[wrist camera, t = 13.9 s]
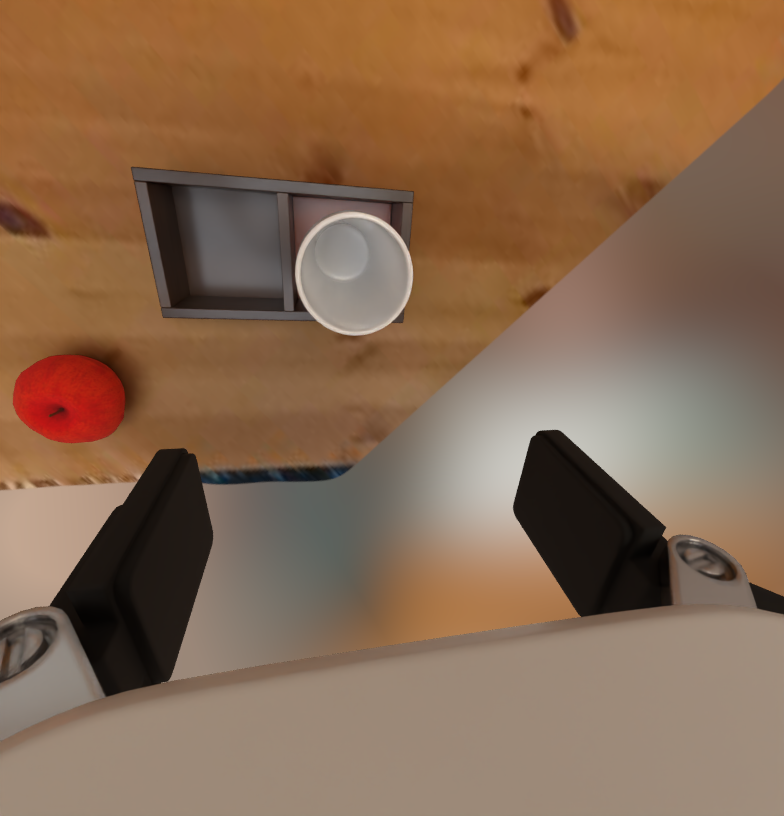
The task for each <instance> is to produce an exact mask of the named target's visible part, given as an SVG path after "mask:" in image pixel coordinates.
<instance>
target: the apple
mask: <svg viewBox="0 0 784 816" xmlns="http://www.w3.org/2000/svg"><path fill="white" fill-rule="evenodd" d="M13 405H14V408H15V411H16V413H17V415H18V416H19V418H20V419H21V420H22V421H23V422H24V423H25V424H26V425H27V426H28V427H29V428H30V429H32V430H34V431H36V432H37V433H39V434H41V435H43V436H44V437H46V438H48V439H50V440H54V441H58V442H64V443H81V442H92V441H96V440H99V439H102V438H105V437H107V436H109V435H110V434H112V433H113V432H114V431H115V430H116V429H117V427H118V426H119V424H120V423H121V421H122V420H123V418H124V410H125V392H124V387H123V385H122V382H121V380H120V379H119V378H118V377H117V375H116V374H115V373H114V371H113V370H111V369H110V368H109V367H108V366H107V365H105V364H103V363H102V362H100V361H98V360H95V359H92V358H89V357H86V356H83V355H56V356H51V357H47V358H45V359H42V360H40V361H38V362H36V363H35V364H33V365H32V366H30V367H29V368H27V369H26V370H24V371H23V372H22V373H21V374H20V375H19V377H18V378H17V380H16V383H15V388H14V393H13Z"/></svg>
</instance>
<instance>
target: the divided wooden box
mask: <svg viewBox="0 0 784 816" xmlns="http://www.w3.org/2000/svg"><path fill="white" fill-rule="evenodd" d="M131 170H132V175H133V179H134V180H135V181H134V184H135V188H136V193H137V198H138V203H139V207H140V212H141V217H142V221H143V226H144V231H145V236H146V240H147V245H148V250H149V254H150V259H151V264H152V269H153V273H154V278H155V283H156V287H157V292H158V297H159V302H160V306H161V307H162V308H161V311H162V316H163V318H198V319H243V320H289V321H317V320H315V319H314V318H313V316H312V315H311V314H310V313H309V312H308V311H307V309H306V308H305V306H304V304H303V302H302V300H301V298H300V296H299V293H298V290H297V286H296V280H295V264H296V256H297V252H298V248H299V246H300V243H301V241H302V239H303V237H304V235H305V234H306V232H307V231H308V230H309V228H310V227H311V226H312V225H313V224H314V223H315V222H316V221H318V220H319V219H320V218H322V217H324V216H325V215H328V214H330V213H333V212H336V211H341V210H358V211H363V212H366V213H369V214H372V215H374V216H376V217H378V218H380V219H382V220H383V221H385V222H386V223H388V224H389V225H390V226H391V227H392V228H393V229H395V230H396V232H397V233H398V234H399V235H400V237H401V238H402V239H403V241H404V243H405V244H406V246H407V249H408V251H409V247H410V235H411V222H412V210H413V197H414V192H413V191H403V190H392V189H381V188H369V187H358V186H346V185H335V184H323V183H312V182H301V181H289V180H278V179H266V178H255V177H243V176H232V175H221V174H209V173H198V172H186V171H175V170H164V169H152V168H141V167H131ZM404 309H405V307H404ZM404 309H403V310H402V312H401V313H400V314H399V315H398V317H397V318H396V319H395V320H394V321H392V322H391V323H403V320H404Z"/></svg>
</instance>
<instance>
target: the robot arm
mask: <svg viewBox="0 0 784 816" xmlns="http://www.w3.org/2000/svg"><path fill="white" fill-rule="evenodd" d="M513 510H514V514H515V516H516V518H517V520H518V521H519V523H520V524H521V526H522V528H523V529H524V531H525V532H526V534H527V535H528V537H529V538H530V540H531V541H532V543H533V545H534V546H535V547H536V549H537V551H538V552H539V554H540V555H541V557H542V558H543V560H544V562H545V563H546V565H547V566H548V568H549V569H550V571H551V572H552V574H553V575H554V577H555V578H556V580H557V582H558V583H559V585H560V586H561V588H562V590H563V591H564V593H565V594H566V596H567V597H568V599H569V600H570V602H571V603H572V605H573V607H574V608H575V610H576V611H577V613H578V614H579V615H580V616H581V617H579V618H572V619H565V620H558V621H551V622H545V623H537V624H530V625H523V626H516V627H509V628H503V629H496V630H489V631H483V632H476V633H469V634H463V635H456V636H449V637H443V638H436V639H430V640H423V641H416V642H410V643H403V644H397V645H390V646H383V647H378V648H371V649H364V650H357V651H352V652H345V653H338V654H332V655H326V656H319V657H313V658H306V659H300V660H294V661H287V662H281V663H274V664H269V665H262V666H256V667H250V668H245V669H239V670H233V671H227V672H222V673H215V674H210V675H204V676H198V677H192V678H187V679H181V680H175V681H170V682H167V681H168V680H169V679H170V677H171V675H172V673H173V670H174V666H175V663H176V660H177V657H178V654H179V650H180V647H181V644H182V641H183V637H184V634H185V631H186V628H187V625H188V621H189V618H190V615H191V612H192V608H193V605H194V602H195V598H196V595H197V592H198V589H199V585H200V582H201V579H202V576H203V572H204V569H205V566H206V563H207V560H208V556H209V553H210V550H211V547H212V542H213V530H212V525H211V521H210V517H209V513H208V508H207V503H206V499H205V495H204V490H203V486H202V481H201V477H200V472H199V468H198V463H197V459H196V456H195V454H188V452H187V450H186V449H185V448H181V449H161V450H159V451H158V452H157V453H156V454H155V456H154V457H153V459H152V461H151V462H150V464H149V465H148V467H147V468H146V470H145V471H144V473H143V474H142V476H141V477H140V479H139V480H138V482H137V484H136V485H135V487H134V488H133V490H132V491H131V493H130V494H129V496H128V497H127V499H126V501H125V502H124V503H123V505H120V506H118V507H116V509H115V510H114V511H113V512H112V513H111V515H110V516H109V518H108V519H107V521H106V522H105V524H104V525H103V527H102V528H101V530H100V531H99V533H98V534H97V536H96V537H95V539H94V540H93V542H92V543H91V545H90V546H89V548H88V549H87V550H86V552H85V553H84V555H83V557H82V558H81V559H80V561H79V562H78V564H77V565H76V567H75V569H74V570H73V571H72V573H71V575H70V576H69V578H68V579H67V581H66V582H65V583H64V585H63V586H62V588H61V589H60V591H59V592H58V594H57V595H56V597H55V598H54V600H53V601H52V603H51V604H50V606H48V607H35V608H31V609H28V610H24V611H20V612H18V613H16V614H14V615H11V616H9V617H7V618H5V619H2V620H1V621H0V816H784V597H783V596H781V595H778V594H776V593H774V592H771V591H769V590H766V589H764V588H761V587H759V586H757V585H754V584H752V583H749V582H748V579H747V575H746V573H745V572H744V569H743V568H742V566H741V565H740V564H739V563H738V562H737V560H736V559H735V558H734V557H732V556H731V555H730V554H729V553H727V552H726V551H725V550H723V549H721V548H720V547H718V546H716V545H715V544H713V543H711V542H708V541H706V540H704V539H701V538H698V537H693V536H690V535H676V536H673V537H671V538H670V539H669V540H668V541H667V540H666V539H665V538H664V537H663V536H662V534H663V532H664V530H665V529H666V527H665V526H664V525H663V524H662V523H661V522H660V521H659V520H658V519H656V518H655V517H654V516H653V515H652V514H651V513H650V512H649V511H648V510H647V509H645V508H644V507H643V506H642V505H641V504H640V503H639V502H638V501H637V500H636V499H634V498H633V497H632V496H631V495H630V494H629V493H628V492H627V491H626V490H625V489H624V488H623V487H621V486H620V485H619V484H618V483H617V482H616V481H615V480H614V479H613V478H612V477H610V476H609V475H608V474H607V473H606V472H605V471H604V470H603V469H601V467H600V466H598V465H597V464H596V463H595V462H594V461H593V460H592V459H591V458H589V456H587V455H586V454H585V453H584V452H583V451H582V450H581V449H580V448H579V447H578V446H576V445H575V444H574V443H573V442H572V441H571V440H570V439H569V438H568V437H567V436H566V435H564V434H563V433H562V432H561V431H559V430H546V431H545V430H544V431H539V432H537V433H536V435H535V436H533V437H532V438H531V440H530V444H529V447H528V451H527V455H526V459H525V463H524V466H523V470H522V474H521V478H520V481H519V486H518V489H517V493H516V497H515V501H514V505H513ZM161 682H166V683H161Z"/></svg>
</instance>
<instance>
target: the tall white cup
mask: <svg viewBox="0 0 784 816" xmlns="http://www.w3.org/2000/svg"><path fill="white" fill-rule="evenodd" d="M295 280H296V286H297V290H298V293H299V296H300V298H301V300H302V302H303V304H304V306H305V308H306V309H307V311H308V312H309V313H310V314H311V315H312V316H313V318H314V319H315V320H317V321H318V322H319V323H320V324H322V325H323V326H325V327H326V328H328V329H330V330H332V331H335V332H337V333H341V334H345V335H366V334H370V333H373V332H376V331H378V330H381V329H382V328H384V327H386V326H387V325H389V324H390V323H391V322H392V321H394V320H395V319H396V318H397V317H398V315H399V314H400V313H401V312H402V310H403V309H404V307H405V305H406V303H407V301H408V299H409V296H410V293H411V289H412V283H413V266H412V261H411V257H410V254H409V251H408V249H407V246H406V244H405V243H404V241H403V239H402V238H401V237H400V235H399V234H398V233H397V232H396V230H395V229H393V228H392V227H391V226H390V225H389V224H388V223H386V222H385V221H383V220H382V219H380V218H378V217H376V216H374V215H372V214H369V213H366V212H363V211H358V210H341V211H336V212H333V213H330V214H328V215H325V216H324V217H322V218H320V219H319V220H318V221H316V222H315V223H314V224H313V225H312V226H311V227H310V228H309V230H308V231H307V232H306V234H305V235H304V237H303V239H302V241H301V243H300V246H299V248H298V252H297V256H296V264H295Z"/></svg>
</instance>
